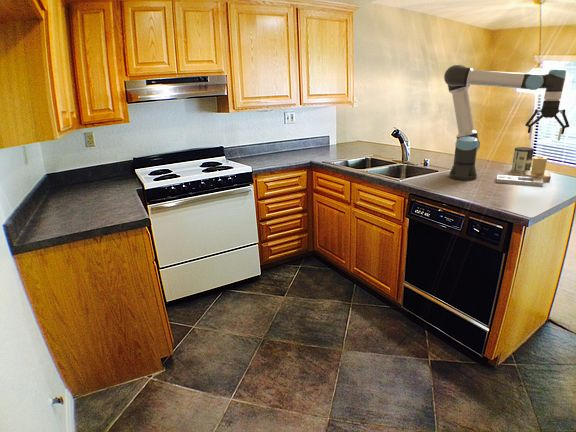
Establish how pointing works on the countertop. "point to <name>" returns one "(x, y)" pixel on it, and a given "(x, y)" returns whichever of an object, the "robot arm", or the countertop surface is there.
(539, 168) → the cube with dome knob
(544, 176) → the pedestal
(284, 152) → the countertop surface
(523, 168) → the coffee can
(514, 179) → the beige panel with cutout
